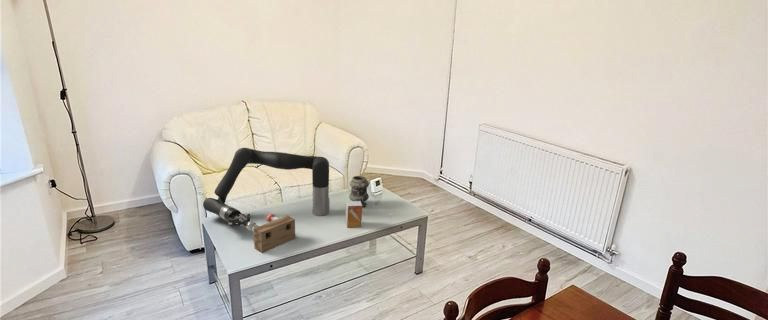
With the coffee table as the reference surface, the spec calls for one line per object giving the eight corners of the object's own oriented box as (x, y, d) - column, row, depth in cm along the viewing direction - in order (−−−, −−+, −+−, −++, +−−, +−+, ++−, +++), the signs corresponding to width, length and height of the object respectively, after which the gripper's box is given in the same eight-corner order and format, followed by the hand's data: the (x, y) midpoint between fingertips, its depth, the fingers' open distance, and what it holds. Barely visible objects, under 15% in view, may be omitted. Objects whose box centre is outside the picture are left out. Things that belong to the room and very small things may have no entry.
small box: (347, 227, 228) (347, 206, 224) (345, 222, 234) (346, 201, 230) (361, 227, 230) (362, 205, 226) (359, 222, 236) (360, 200, 232)
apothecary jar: (359, 199, 266) (361, 173, 261) (372, 206, 258) (373, 178, 253) (344, 204, 258) (345, 176, 253) (357, 210, 250) (358, 182, 245)
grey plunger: (246, 230, 207) (245, 222, 206) (254, 227, 211) (253, 219, 209) (261, 238, 200) (260, 230, 199) (268, 235, 204) (268, 227, 202)
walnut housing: (254, 248, 202) (253, 228, 199) (287, 234, 218) (287, 215, 214) (262, 253, 199) (261, 232, 196) (295, 238, 214) (294, 219, 211)
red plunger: (266, 222, 216) (266, 215, 215) (273, 220, 220) (273, 212, 218) (281, 230, 209) (281, 222, 208) (288, 227, 213) (288, 219, 211)
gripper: (217, 211, 213) (237, 222, 203) (241, 204, 223) (260, 214, 213) (219, 224, 215) (238, 236, 205) (241, 217, 225) (261, 227, 215)
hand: (249, 224), depth 209 cm, fingers closed
